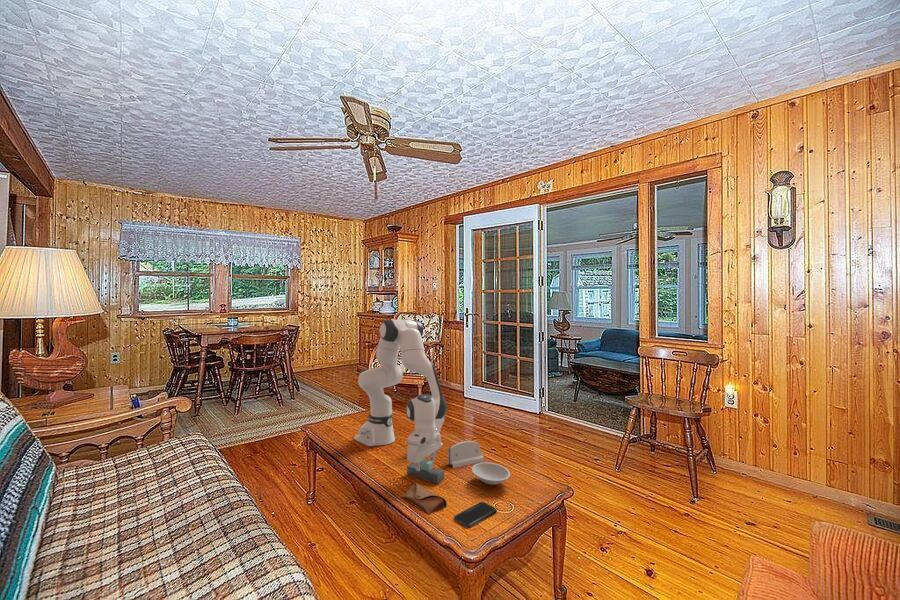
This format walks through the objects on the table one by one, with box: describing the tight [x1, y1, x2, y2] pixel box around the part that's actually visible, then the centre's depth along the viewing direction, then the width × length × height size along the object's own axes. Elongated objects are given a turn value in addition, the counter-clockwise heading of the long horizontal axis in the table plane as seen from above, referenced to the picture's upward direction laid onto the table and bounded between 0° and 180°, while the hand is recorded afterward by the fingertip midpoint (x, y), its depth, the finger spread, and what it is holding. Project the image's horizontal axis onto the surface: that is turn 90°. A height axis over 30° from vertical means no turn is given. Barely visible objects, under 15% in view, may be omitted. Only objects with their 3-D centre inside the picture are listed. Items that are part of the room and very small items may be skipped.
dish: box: [471, 461, 511, 486], centre depth 163 cm, size 18×14×5 cm
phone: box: [453, 501, 498, 529], centre depth 140 cm, size 8×1×15 cm
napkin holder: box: [447, 440, 485, 469], centre depth 184 cm, size 17×5×10 cm, turn 115°
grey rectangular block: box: [406, 463, 445, 485], centre depth 169 cm, size 16×5×4 cm, turn 58°
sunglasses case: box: [400, 482, 448, 515], centre depth 149 cm, size 18×7×7 cm, turn 45°
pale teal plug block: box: [419, 458, 434, 472], centre depth 169 cm, size 6×3×6 cm, turn 57°
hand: (425, 466), depth 169 cm, fingers open, 8 cm apart
